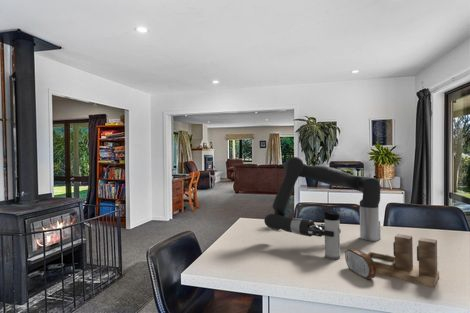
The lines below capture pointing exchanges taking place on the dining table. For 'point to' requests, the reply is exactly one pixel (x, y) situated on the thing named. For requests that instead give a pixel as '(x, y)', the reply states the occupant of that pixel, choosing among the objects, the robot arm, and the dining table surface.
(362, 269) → the tin
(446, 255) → the dining table surface
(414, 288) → the dining table surface
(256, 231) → the dining table surface
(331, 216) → the travel mug
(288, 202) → the teal textured tall figure
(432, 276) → the brown wooden piece
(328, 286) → the dining table surface
